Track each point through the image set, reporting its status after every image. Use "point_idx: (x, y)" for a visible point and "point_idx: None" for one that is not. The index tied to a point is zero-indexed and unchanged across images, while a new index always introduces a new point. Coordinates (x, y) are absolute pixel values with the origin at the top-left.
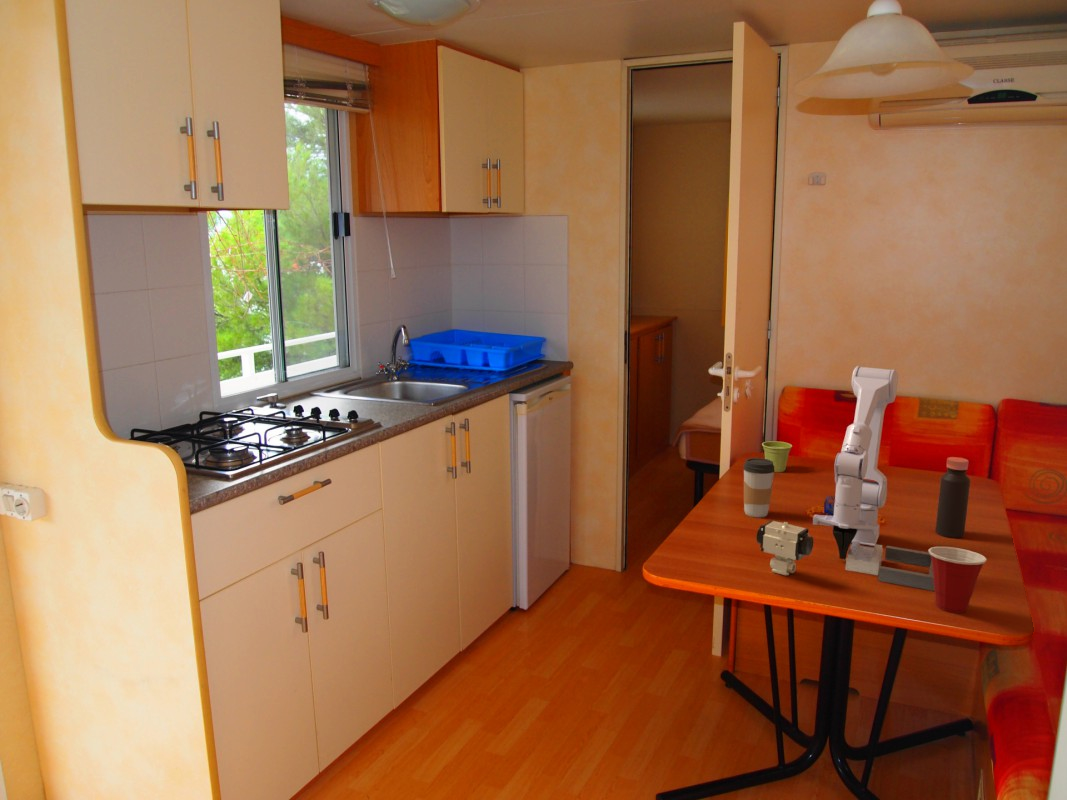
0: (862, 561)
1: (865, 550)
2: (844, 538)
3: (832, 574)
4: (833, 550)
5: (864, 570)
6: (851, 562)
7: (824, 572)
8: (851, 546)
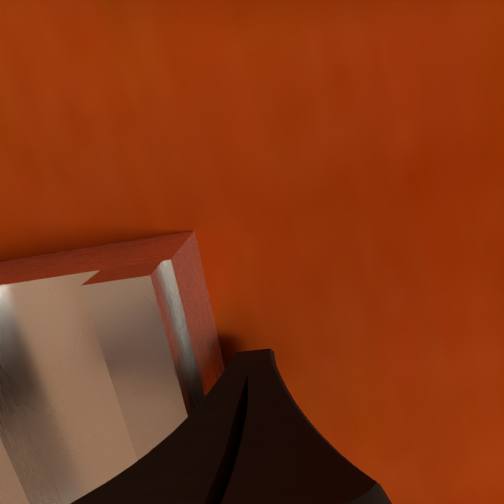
0: (40, 278)
1: None
2: (210, 471)
3: (240, 68)
4: None
5: (60, 255)
6: (135, 254)
7: (307, 69)
8: None
